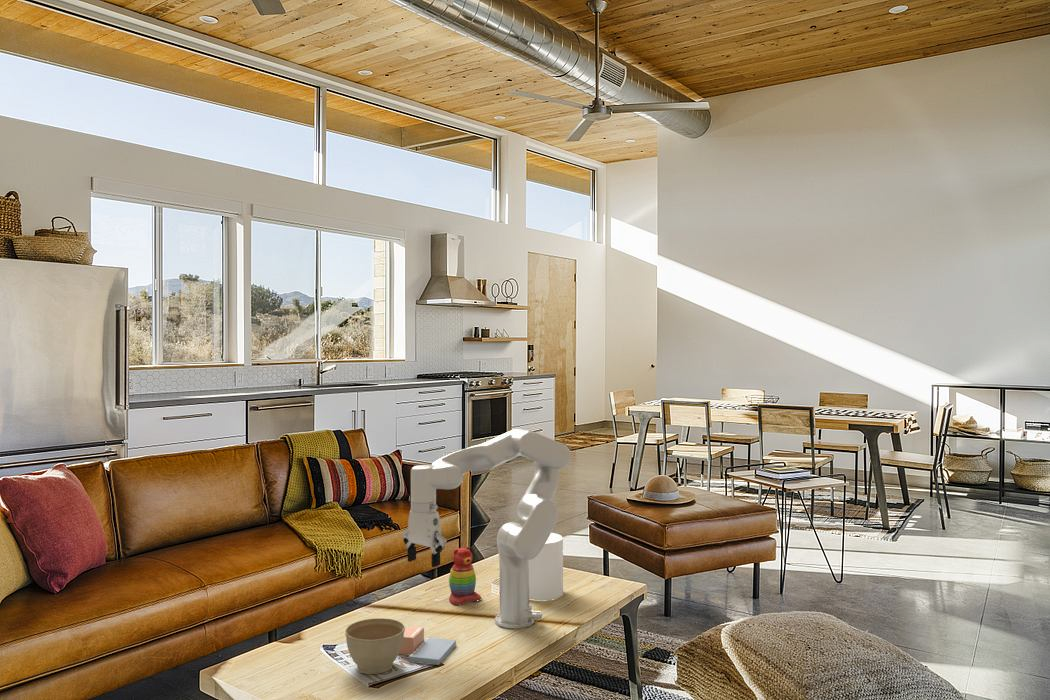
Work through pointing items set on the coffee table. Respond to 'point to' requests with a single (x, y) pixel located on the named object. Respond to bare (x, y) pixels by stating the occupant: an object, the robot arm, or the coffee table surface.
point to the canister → (547, 570)
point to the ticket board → (432, 651)
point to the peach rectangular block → (412, 639)
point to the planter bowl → (375, 643)
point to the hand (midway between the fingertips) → (423, 563)
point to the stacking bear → (462, 578)
